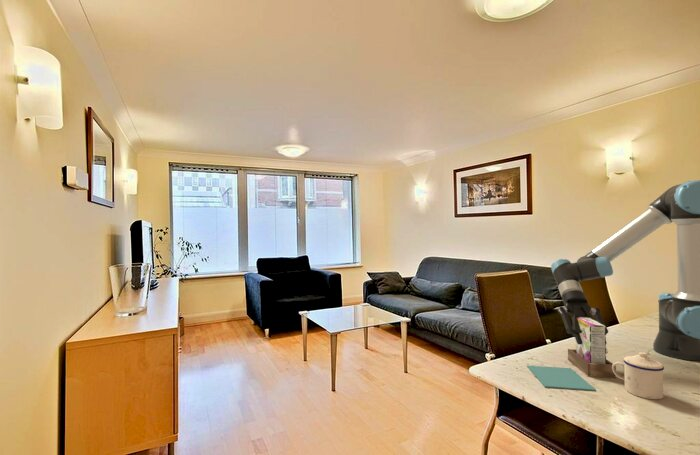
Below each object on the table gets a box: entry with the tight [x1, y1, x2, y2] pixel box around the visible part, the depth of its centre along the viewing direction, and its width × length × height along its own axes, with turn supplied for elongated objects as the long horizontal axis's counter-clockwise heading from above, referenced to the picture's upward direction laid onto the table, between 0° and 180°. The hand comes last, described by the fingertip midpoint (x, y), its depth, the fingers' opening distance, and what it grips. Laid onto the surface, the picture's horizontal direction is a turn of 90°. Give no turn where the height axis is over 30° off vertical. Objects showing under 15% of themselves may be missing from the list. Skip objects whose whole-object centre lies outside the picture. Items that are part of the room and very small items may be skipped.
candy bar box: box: [575, 317, 607, 364], centre depth 118 cm, size 11×5×16 cm, turn 168°
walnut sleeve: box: [567, 348, 617, 379], centre depth 118 cm, size 8×14×4 cm, turn 170°
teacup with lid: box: [612, 351, 665, 400], centre depth 102 cm, size 12×9×12 cm
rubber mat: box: [526, 365, 597, 392], centre depth 111 cm, size 14×16×1 cm
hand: (595, 353), depth 115 cm, fingers closed on candy bar box, 5 cm apart
